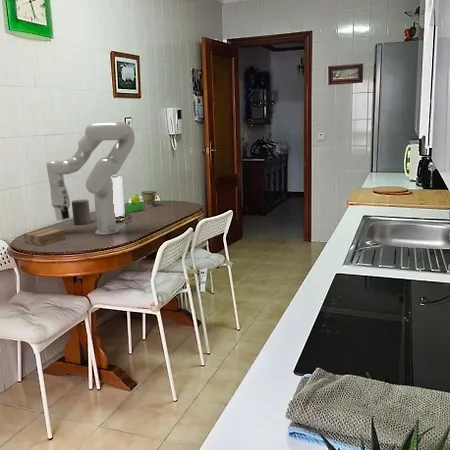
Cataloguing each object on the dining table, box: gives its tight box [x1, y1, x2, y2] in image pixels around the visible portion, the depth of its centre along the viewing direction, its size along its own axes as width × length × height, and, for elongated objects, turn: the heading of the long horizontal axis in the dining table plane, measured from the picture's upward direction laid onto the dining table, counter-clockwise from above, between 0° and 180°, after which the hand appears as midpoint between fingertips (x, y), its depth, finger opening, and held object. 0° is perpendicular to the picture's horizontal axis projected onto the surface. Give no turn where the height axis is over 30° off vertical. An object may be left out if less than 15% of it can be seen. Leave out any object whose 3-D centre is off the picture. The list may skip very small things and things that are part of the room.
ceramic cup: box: [140, 190, 158, 208], centre depth 335 cm, size 13×10×10 cm
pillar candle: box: [71, 198, 92, 226], centre depth 291 cm, size 10×10×15 cm
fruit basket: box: [124, 193, 144, 213], centre depth 321 cm, size 11×9×11 cm
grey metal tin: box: [53, 206, 71, 222], centre depth 266 cm, size 5×5×7 cm
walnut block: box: [23, 228, 67, 247], centre depth 252 cm, size 14×14×5 cm
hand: (62, 217), depth 266 cm, fingers closed on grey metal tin, 5 cm apart
